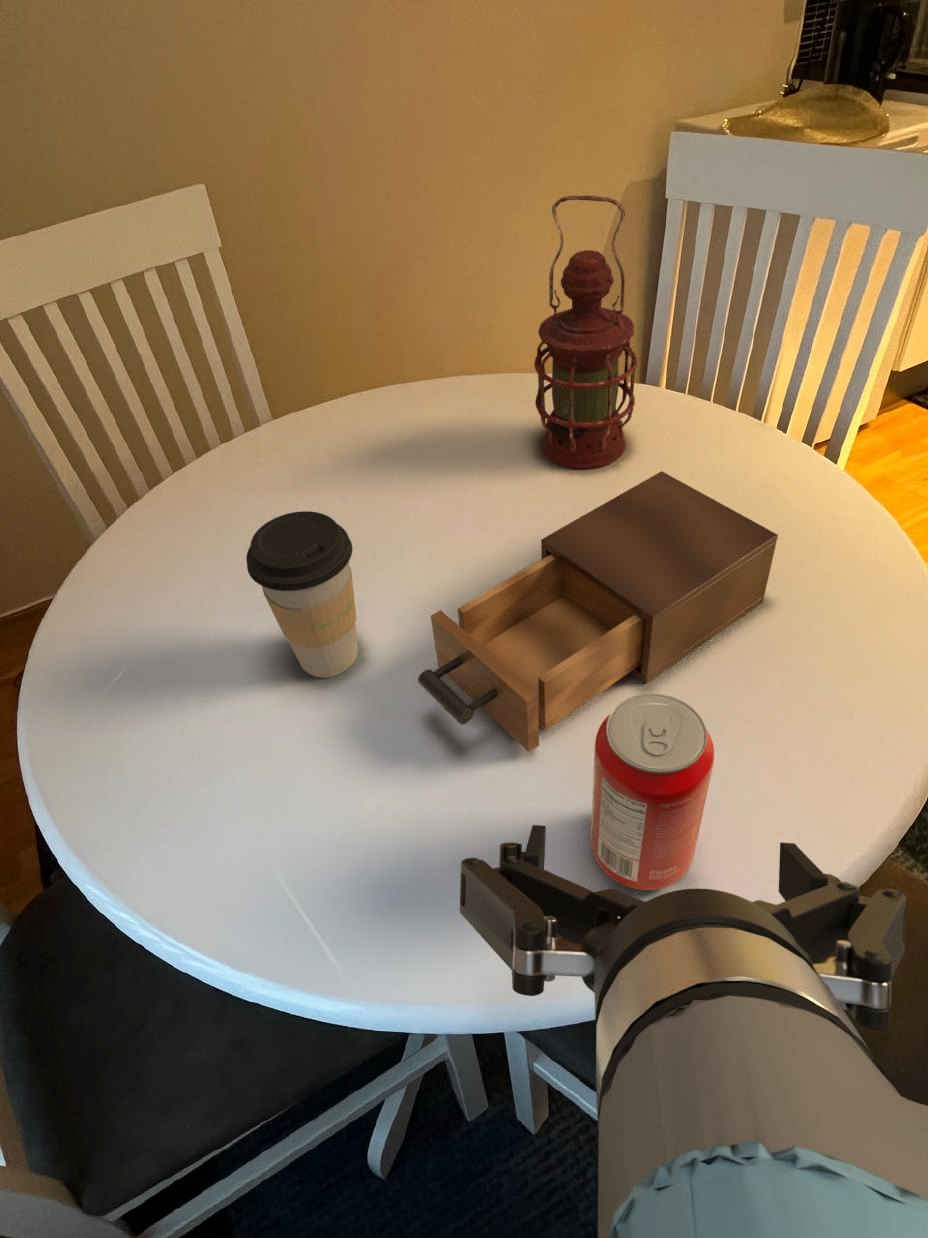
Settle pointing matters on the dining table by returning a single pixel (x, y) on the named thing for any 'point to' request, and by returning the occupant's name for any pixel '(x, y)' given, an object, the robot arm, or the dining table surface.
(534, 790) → the dining table surface
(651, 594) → the cabinet
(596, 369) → the lantern
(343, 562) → the coffee cup
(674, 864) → the soda can
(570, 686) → the drawer
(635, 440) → the dining table surface
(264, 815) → the dining table surface
